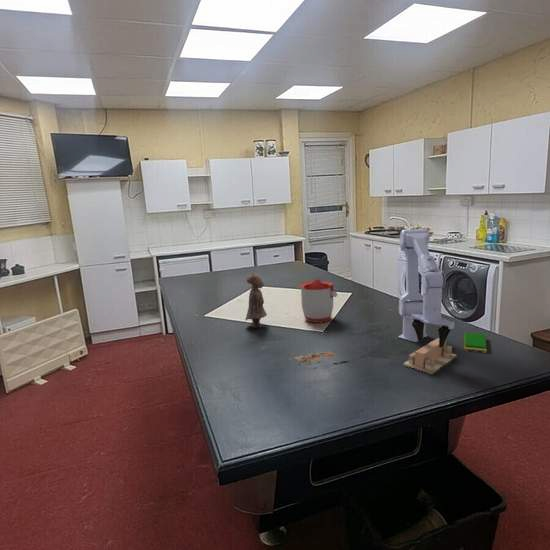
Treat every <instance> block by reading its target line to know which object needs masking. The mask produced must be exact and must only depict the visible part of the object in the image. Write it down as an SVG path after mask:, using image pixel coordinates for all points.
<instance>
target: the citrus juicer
mask: <svg viewBox="0 0 550 550" xmlns="http://www.w3.org/2000/svg"><path fill="white" fill-rule="evenodd" d="M299 286H300V294H301V295H300V296H301V308H302V312H303V316H304V318H305V320H306V321H307V322H309V321H310V323H325V322H327V321H329V320H331V318H332V313H333V310H334V298H337V297H338V293H337V292H336V291H334V283H332V282H330V281H322V280H319V278H316V279H314V280H313V281H309V282H304V283H301V284H300V285H299Z"/></svg>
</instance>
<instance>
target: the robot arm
mask: <svg viewBox="0 0 550 550" xmlns="http://www.w3.org/2000/svg"><path fill="white" fill-rule="evenodd" d="M430 236H431V235H430V231H429V229H427V228H420V229H402V230H401V231H400V234H399V248H400V251H402V252H404V256H405V286H406V289H405V290H406V292H405V293H403V294H402V295H401V296H400V297H399V299H398V300H399V303H398V312H399V315H400V316H401V317H402V334H400V335H398V338H400V339H403V340H405V341H409V342H413V343H417V342H419V343H420V342H422V341H423V340H424V339H425V338H427V337H428V336H427V335H428V333H427V334H426V328H427V327H426V326H427V324H430V325H433V326H438V327H439V326H440V327H439V328H438V329H437V333H438V338H439V347H441V348H442V347H443V346H444V344H445V340H446V341H447V338H448V335H449V334H450V332H451V331H452V329H454V328H455V322H454V321H450V320H447V319H445V318H443V317H442V301H443V300H442V298H443V296H442V295H443V289H444V288H445V287H446V275H445V272H444V270H441V269H440V268H439V266H438V263H437V261H436V259H435V256H433V255H430V251H429V248H428V247H429V242H430V238H431V237H430ZM419 271H420V273H421V278H419ZM419 279H421V287H422V288H421V289H422V294H421V293H420V285H419V284H420V281H419ZM424 337H425V338H424Z"/></svg>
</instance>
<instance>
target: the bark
mask: <svg viewBox="0 0 550 550" xmlns="http://www.w3.org/2000/svg"><path fill="white" fill-rule="evenodd" d="M321 354H322V355H323V356H325V357H326V358H327V357H328V356H330V358H331V357H332V356H335V355H336V353H334V352H332V351H327V350H325V351H321V352H316V353H315V352H314V353H310V354H309V353H308V354H304V355H299V356H295V357H294V358H295V359H296V360H297V359H298V361H299V360H300V361H301V362H302V363H304V362H306V361H307V359H311V360H309V361H308V362H306V363H311V362H315V361H314V360H318V362H319V360H320V359H318V358H317V357H319V356H320V357H321V356H322V355H321ZM332 354H333V355H332ZM335 357H336V356H335ZM304 358H305V359H304ZM328 358H329V357H328ZM289 359H291V358H288V360H289ZM303 360H304V361H303ZM298 361H297V362H298ZM320 361H321V360H320ZM316 362H317V361H316ZM318 362H317V363H318ZM346 362H347V361H346ZM346 362H345V363H346ZM336 363H337V362H336ZM338 364H339V363H337V364H336V365H338Z"/></svg>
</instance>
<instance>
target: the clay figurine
mask: <svg viewBox="0 0 550 550" xmlns="http://www.w3.org/2000/svg"><path fill="white" fill-rule="evenodd" d="M246 282H247V283H248V284H249V285H251V289H249V296H248V308H247V311H246V317H245V321H247V320H251V321H252V322H251V323H250V325H251V328H260V329H261V328H262V323H261V322H260V321H261V319H262V318H265V317H267V315H268V314H267V312H266V310H265V308H264V306H263V305H264V303H265V300H264V297H263V292H262V290H260V289H262V288H263V287H264V286H265V284H264V282H263V279H262V278H261V277H260V275H259V274H257V273H250V274H249V275H248V276H247V277H246Z"/></svg>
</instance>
